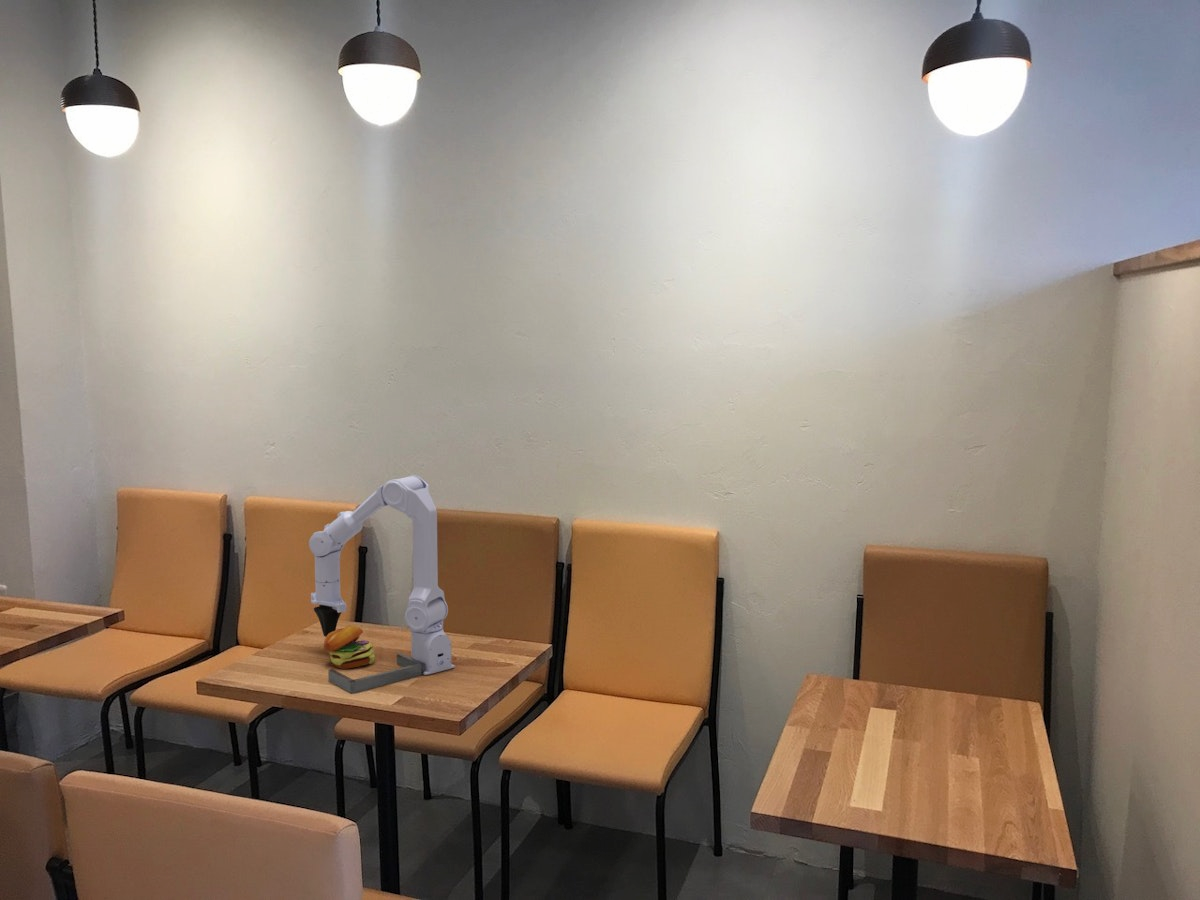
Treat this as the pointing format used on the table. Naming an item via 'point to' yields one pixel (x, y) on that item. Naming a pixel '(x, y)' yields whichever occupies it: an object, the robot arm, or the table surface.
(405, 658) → the grey low angled fixture
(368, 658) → the cheeseburger
